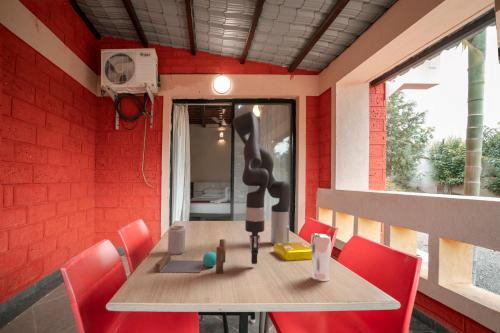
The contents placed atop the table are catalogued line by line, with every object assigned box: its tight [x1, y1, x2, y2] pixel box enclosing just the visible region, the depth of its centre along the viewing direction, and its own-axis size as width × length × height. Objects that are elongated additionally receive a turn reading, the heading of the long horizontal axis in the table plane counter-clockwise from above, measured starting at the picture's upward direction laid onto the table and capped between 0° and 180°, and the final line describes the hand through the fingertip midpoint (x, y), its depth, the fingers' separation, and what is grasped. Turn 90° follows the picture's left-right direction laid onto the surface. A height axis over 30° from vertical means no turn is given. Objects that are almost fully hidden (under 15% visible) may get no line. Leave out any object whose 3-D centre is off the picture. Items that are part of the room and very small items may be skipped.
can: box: [167, 225, 186, 256], centre depth 125 cm, size 8×8×12 cm
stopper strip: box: [155, 252, 172, 274], centre depth 106 cm, size 2×14×3 cm, turn 1°
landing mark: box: [160, 259, 205, 274], centre depth 106 cm, size 14×14×1 cm
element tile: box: [273, 241, 312, 262], centre depth 125 cm, size 15×15×5 cm
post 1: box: [218, 238, 227, 264], centre depth 113 cm, size 3×3×9 cm
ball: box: [202, 251, 216, 268], centre depth 106 cm, size 6×6×6 cm
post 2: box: [215, 246, 224, 275], centre depth 100 cm, size 3×3×9 cm
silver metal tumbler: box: [310, 233, 332, 282], centre depth 96 cm, size 7×7×15 cm
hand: (254, 263), depth 106 cm, fingers closed
